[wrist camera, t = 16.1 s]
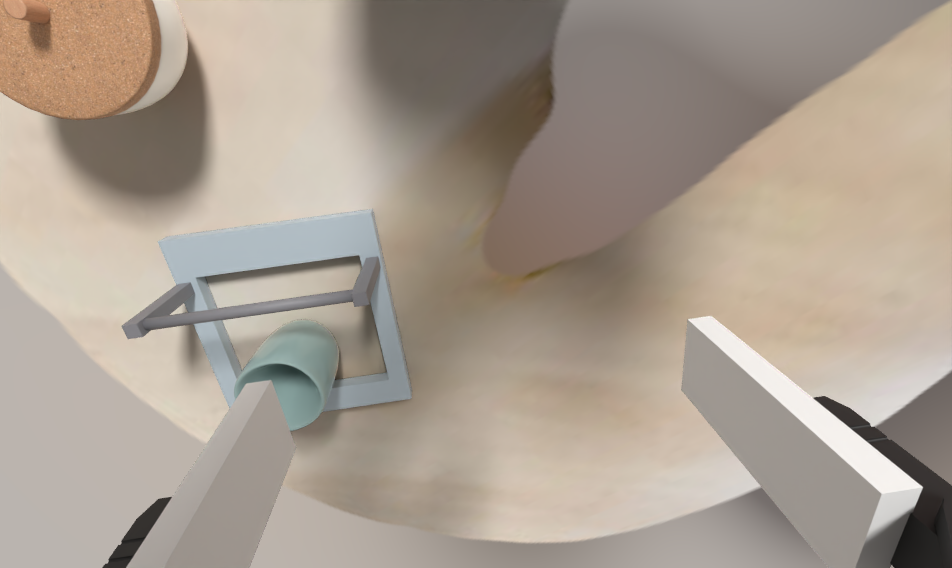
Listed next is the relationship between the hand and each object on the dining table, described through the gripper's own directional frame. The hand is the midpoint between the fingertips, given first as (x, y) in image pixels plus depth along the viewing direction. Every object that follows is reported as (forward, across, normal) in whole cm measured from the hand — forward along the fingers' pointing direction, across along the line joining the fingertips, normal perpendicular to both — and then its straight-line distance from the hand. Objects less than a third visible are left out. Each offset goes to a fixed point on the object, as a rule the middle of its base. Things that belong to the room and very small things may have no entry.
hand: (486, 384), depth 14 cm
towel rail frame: (+32, -18, -12) cm, 38 cm away
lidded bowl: (+32, -24, +16) cm, 43 cm away
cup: (+32, -18, -14) cm, 39 cm away
